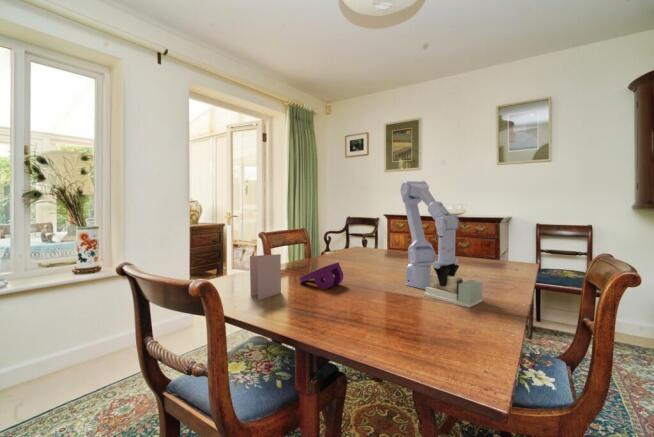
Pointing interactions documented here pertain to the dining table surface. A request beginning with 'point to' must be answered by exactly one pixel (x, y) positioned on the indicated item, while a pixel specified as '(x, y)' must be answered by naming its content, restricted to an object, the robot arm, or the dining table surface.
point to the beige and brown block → (451, 283)
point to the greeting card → (265, 275)
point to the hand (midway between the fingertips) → (446, 285)
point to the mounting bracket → (325, 276)
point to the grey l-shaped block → (459, 294)
